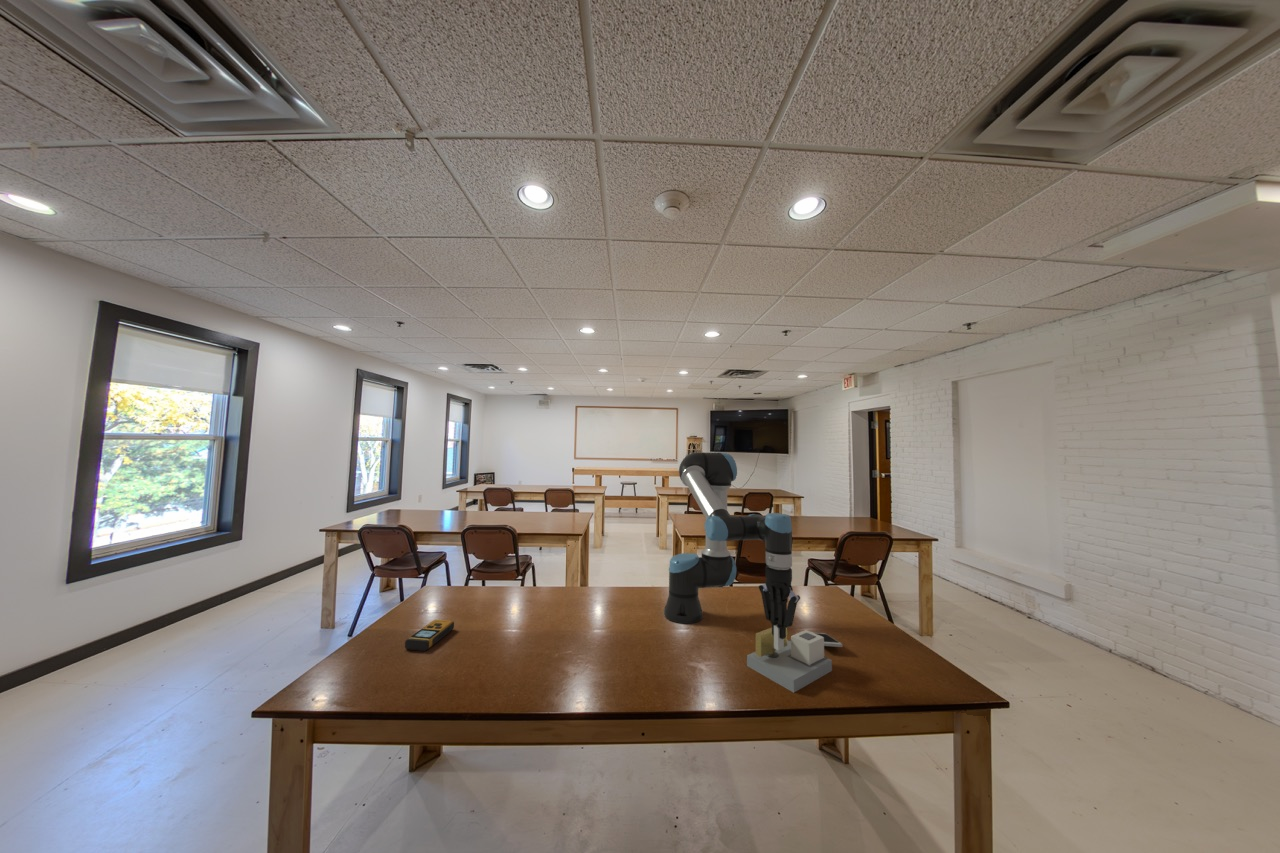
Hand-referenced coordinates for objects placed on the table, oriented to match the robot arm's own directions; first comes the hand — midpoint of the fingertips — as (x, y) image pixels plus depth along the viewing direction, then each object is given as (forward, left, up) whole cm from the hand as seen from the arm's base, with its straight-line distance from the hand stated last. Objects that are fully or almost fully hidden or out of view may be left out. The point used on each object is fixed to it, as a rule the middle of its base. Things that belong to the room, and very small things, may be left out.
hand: (778, 648), depth 117 cm
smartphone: (+2, +25, -7) cm, 26 cm away
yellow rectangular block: (-5, +3, -4) cm, 7 cm away
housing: (-1, +6, -8) cm, 10 cm away
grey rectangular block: (+2, +11, -5) cm, 12 cm away
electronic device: (-84, -76, -10) cm, 114 cm away
